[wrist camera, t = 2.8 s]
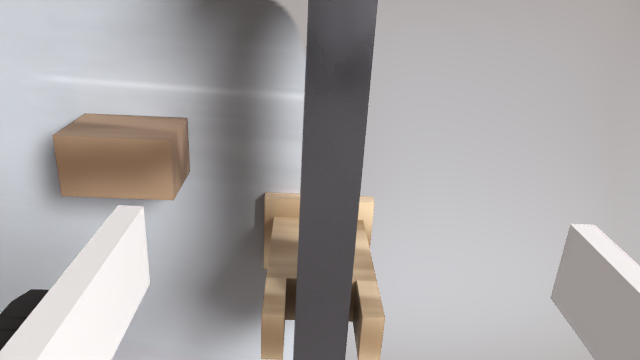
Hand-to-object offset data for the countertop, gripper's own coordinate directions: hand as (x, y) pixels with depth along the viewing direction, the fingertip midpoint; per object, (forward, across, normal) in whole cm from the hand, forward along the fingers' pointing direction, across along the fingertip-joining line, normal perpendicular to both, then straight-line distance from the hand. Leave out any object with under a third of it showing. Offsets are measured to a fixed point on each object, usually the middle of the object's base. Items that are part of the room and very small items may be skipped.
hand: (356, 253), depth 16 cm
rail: (+12, 0, 0) cm, 12 cm away
